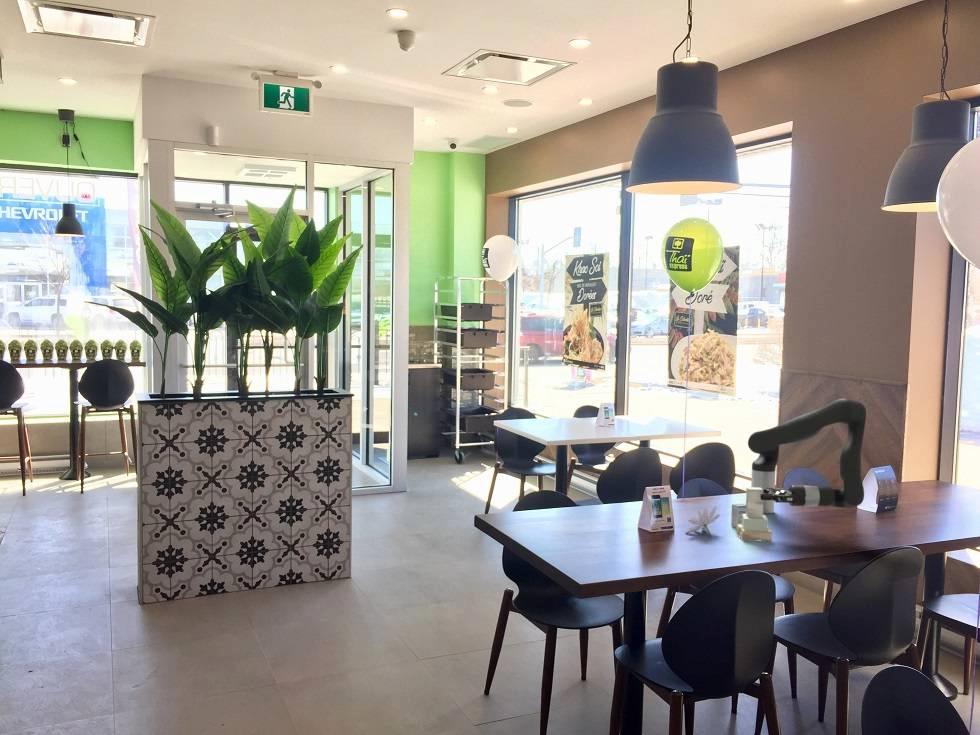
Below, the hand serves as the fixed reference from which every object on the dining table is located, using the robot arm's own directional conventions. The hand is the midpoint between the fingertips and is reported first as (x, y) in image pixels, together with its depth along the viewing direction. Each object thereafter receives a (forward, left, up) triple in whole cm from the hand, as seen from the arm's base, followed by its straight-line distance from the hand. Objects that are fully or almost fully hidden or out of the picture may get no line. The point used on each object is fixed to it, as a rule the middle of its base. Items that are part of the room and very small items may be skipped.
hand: (757, 494), depth 302 cm
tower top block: (+1, -1, -12) cm, 12 cm away
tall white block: (+1, -1, -8) cm, 8 cm away
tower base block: (+1, -1, -16) cm, 16 cm away
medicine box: (-14, -2, -16) cm, 21 cm away
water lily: (-2, -19, -16) cm, 25 cm away
